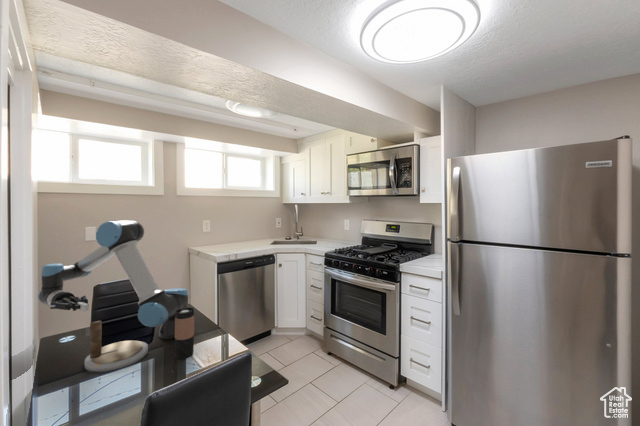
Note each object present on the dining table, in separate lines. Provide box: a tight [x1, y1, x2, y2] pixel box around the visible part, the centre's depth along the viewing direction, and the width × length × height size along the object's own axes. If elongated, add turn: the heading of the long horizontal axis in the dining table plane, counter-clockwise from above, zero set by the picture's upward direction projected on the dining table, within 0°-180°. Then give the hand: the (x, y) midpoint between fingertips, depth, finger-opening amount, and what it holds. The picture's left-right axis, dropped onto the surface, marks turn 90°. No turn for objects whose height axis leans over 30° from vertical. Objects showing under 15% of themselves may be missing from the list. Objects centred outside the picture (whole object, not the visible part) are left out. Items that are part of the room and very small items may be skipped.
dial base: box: [84, 340, 149, 373], centre depth 118 cm, size 22×22×2 cm
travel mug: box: [174, 307, 195, 361], centre depth 120 cm, size 8×8×20 cm
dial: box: [89, 320, 143, 364], centre depth 118 cm, size 18×18×15 cm
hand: (86, 307), depth 117 cm, fingers closed
